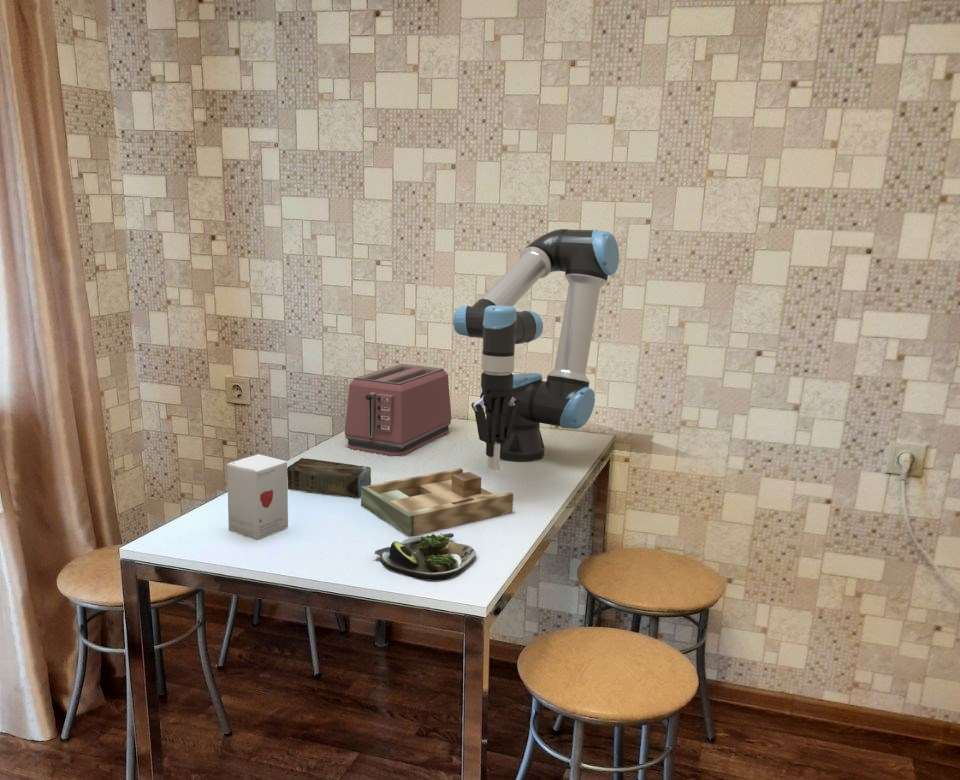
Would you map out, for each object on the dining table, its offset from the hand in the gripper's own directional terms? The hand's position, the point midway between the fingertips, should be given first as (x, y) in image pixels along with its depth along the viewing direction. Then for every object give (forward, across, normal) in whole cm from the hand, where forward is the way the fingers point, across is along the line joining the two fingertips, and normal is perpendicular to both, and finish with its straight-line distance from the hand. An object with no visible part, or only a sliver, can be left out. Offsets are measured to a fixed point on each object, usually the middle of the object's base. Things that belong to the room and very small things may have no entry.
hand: (493, 468), depth 194 cm
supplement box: (+8, +54, -9) cm, 56 cm away
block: (+5, +8, 0) cm, 9 cm away
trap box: (+7, +16, 0) cm, 18 cm away
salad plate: (+8, +32, +23) cm, 41 cm away
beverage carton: (+8, +31, -25) cm, 41 cm away
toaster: (+7, -5, -54) cm, 55 cm away
